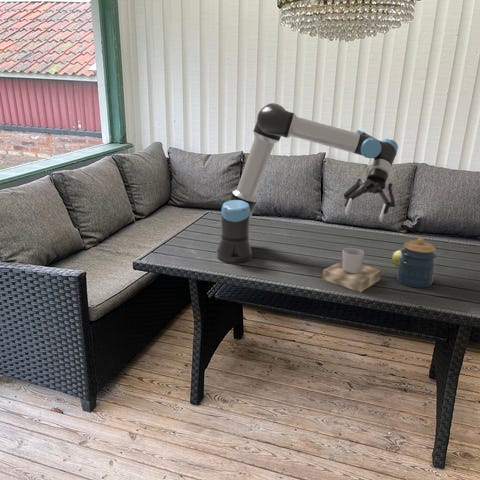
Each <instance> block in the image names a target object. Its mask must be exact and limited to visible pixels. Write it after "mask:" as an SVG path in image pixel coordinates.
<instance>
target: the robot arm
mask: <svg viewBox="0 0 480 480" xmlns="http://www.w3.org/2000/svg"><path fill="white" fill-rule="evenodd" d="M253 135H254V140H253V142H252V144H251V147H250V150H249V153H248V157H247V160H246V162H245V165H244V168H243V170H242V173H241V177H240V179H239V182H238V185H237V188H236V189H234V190H232V191H231V194H230V197H229V200H227V201H225V202H224V203H223V204H222V206H221V209H220V210H221V211H220V212H221V213H220V214H221V226H220V227H221V230H220V231H221V233H220V234H221V236H220V242H219V245H218V247H217V251H216V258H217V259H218V260H220V261H222V262H226V263H232V264H233V263H235V264H237V263H239V264H240V263H245V262H249V261H250V260H252V259H253V251H252V248H251V243H250V237H249V236H250V222H251V218H252V216H253V213H254V210H255V207H256V204H257V202H258V199H257V192H258V189H259V187H260V184H261V181H262V178H263V175H264V174H265V173H264V172H265V170H266V168H267V164H268V163H269V159H270V157H271V155H272V151H273V148H274V147H275V144H276V143H278V142H280V140H281V137H282V138H287V139H289V138H290V137H293V138H297V139H299V140H300V139H301V140H305V141H308V142H311V143H314V144H318V145H322V146H326V147H330V148H333V149H337V150H341V151H345V152H349V153H352V154H355V155H359V156H363V157H364V158H366V159H373V160H372V161H373V162H372V165H371V166H370V170H369V171H368V174H367V177H366V180H362V178H358V179H357V181H356V182H355V183H354V184H353V185H352V186H351V187H350V188H348V190H347V191H345V193H343V197H344V199H345V200H346V201H345V202H344V206H345V210H344V215H345V216H348V215H349V213H350V210H351V208H352V205H353V200H355V199H357V198H358V197H360V196H361V195H363V194H366V193H369V194H376V195H377V194H378V195H379V196H380V198H381V199H382V201H383V206H382V209H381V211H380V212H379V213H380V214H379V216H378V221H379V222H380V223H381V222H383V218H384V217H385V215H387V214H388V212H389V209H390V208H391V207H392V208H396V202H395V197H394V193H393V183H392V182H390V183H388V184H387V180H388V177H389V174H390V172H391V169H392V166H393V164H394V161H395V158H396V157H397V153H398V149H399V145H398V143H397V142H396V141H395V140H394V139H389V138H384V139H383V140H379V139H377V138H375V137H373V136H372V135H370V134H368V133H366V132H364V131H362V130H359V129H357V130H356V131H351V130H346V129H342V128H339V127H336V126H332V125H329V124H325V123H321V122H317V121H314V120H309V119H306V118H302V117H299V116H297V115H296V113H295V112H291V111H288V110H286V109H285V108H284V107H283V106H282V105H280V104H278V103H274V102H273V103H267V104H266V105H264V106H263V107H262V108H261V109H260V110H259V111H258V113H257V117H256V123H255V126H254V128H253ZM385 189H386V190H387V191H388V194H389V195H388V196H389V198H390V201H389V200H388V197H387V196H386V194H385V192H384V191H383V190H385Z"/></svg>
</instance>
